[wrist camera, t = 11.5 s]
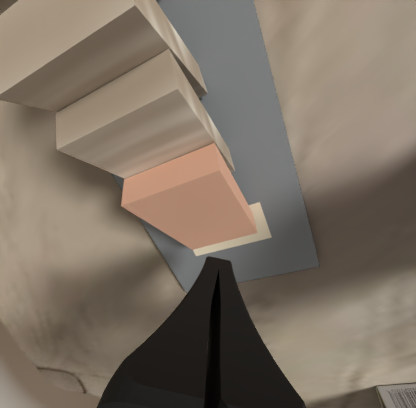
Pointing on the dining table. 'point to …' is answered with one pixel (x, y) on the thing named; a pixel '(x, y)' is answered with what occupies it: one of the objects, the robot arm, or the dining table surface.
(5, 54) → the domino
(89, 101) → the domino
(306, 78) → the dining table surface
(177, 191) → the terracotta domino
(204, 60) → the slate mat
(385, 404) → the coffee box
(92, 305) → the dining table surface
